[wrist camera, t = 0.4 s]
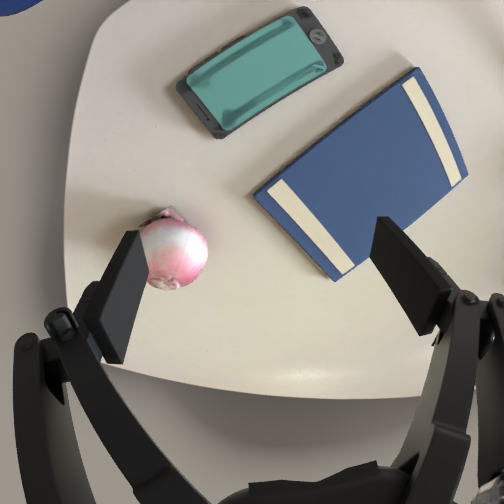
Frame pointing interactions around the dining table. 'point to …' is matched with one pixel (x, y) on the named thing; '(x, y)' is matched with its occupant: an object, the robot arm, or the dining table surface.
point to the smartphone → (259, 71)
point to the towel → (367, 175)
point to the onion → (172, 250)
